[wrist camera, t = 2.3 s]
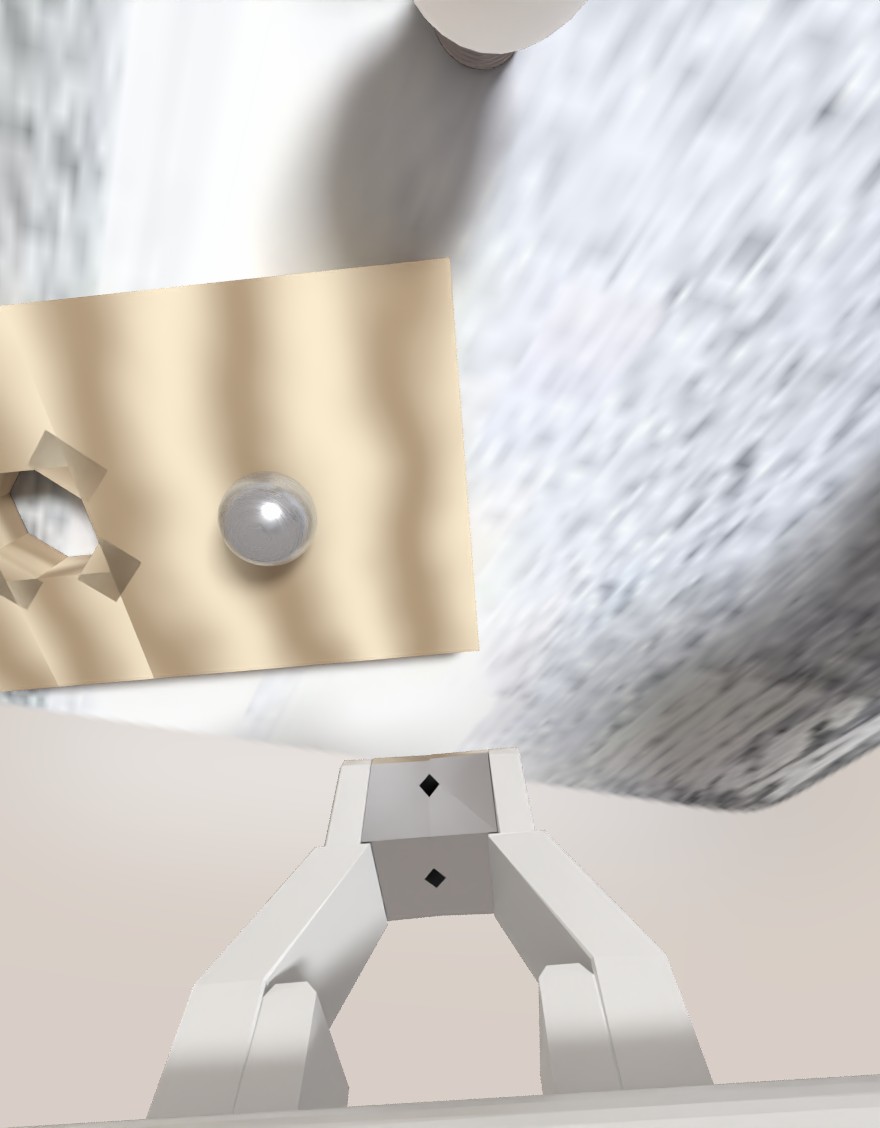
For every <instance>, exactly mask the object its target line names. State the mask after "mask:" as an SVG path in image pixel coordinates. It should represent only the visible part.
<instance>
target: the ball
mask: <svg viewBox="0 0 880 1128" xmlns="http://www.w3.org/2000/svg"><path fill="white" fill-rule="evenodd" d="M218 526H219V530H220V533H221V536H222V538H223V540H224V542H225V543H226V545H227V546H228V547H229V549H230V550H231V551H232V552H233V553H234V554H236V555H237V556H238V557H240V558H241V559H243V560H245V561H247V562H249V563H252V564H255V565H260V566H278V565H282V564H286V563H288V562H291V561H293V560H294V559H296V558H298V557H299V556H300V555H301V554H303V553H304V552H305V551H306V549H307V548H308V547H309V545H310V544H311V542H312V540H313V538H314V536H315V533H316V529H317V510H316V507H315V504H314V501H313V499H312V497H311V496H310V494H309V493H308V491H307V490H306V489H305V488H304V487H303V486H302V485H301V484H300V483H299V482H298V481H296V480H295V479H293V478H292V477H290V476H288V475H285V474H282V473H278V472H273V471H260V472H254V473H251V474H247V475H245V476H243V477H241V478H240V479H238V480H237V481H235V482H234V483H233V484H232V485H231V486H230V487H229V488H228V489H227V491H226V492H225V494H224V495H223V497H222V499H221V502H220V505H219V509H218Z"/></svg>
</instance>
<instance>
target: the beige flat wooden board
mask: <svg viewBox="0 0 880 1128" xmlns="http://www.w3.org/2000/svg"><path fill="white" fill-rule="evenodd" d="M27 470H36V471H38V472H39V473H41V474H42V475H44V476H45V477H47V478H49V479H50V480H52V481H53V482H55V483H57V484H58V485H60V486H61V487H63V488H65V489H66V490H68V491H69V492H71V493H72V494H74V495H76V496H77V497H79V498H80V499H82V502H83V504H84V507H85V509H86V512H87V514H88V517H89V519H90V521H91V524H92V526H93V529H94V531H95V534H96V536H97V539H98V541H99V544H98V546H97V548H96V549H95V551H94V553H93V554H92V555H83V556H73V557H68V556H66V555H64V554H62V553H61V552H59V551H57V550H56V549H54V548H52V547H51V546H49V545H47V544H46V543H44V542H42V541H41V540H39V539H37V538H36V537H34V536H32V535H30V534H29V533H28V532H27V530H26V528H25V526H24V523H23V521H22V519H21V517H20V515H19V513H18V510H17V508H16V506H15V504H14V502H13V500H12V498H11V495H10V493H9V492H10V490H11V488H12V486H13V484H14V482H15V480H16V478H17V476H18V474H19V472H20V471H27ZM260 471H273V472H278V473H282V474H285V475H288V476H290V477H292V478H293V479H295V480H296V481H298V482H299V483H300V484H301V485H302V486H303V487H304V488H305V489H306V490H307V491H308V493H309V494H310V496H311V497H312V499H313V501H314V504H315V507H316V510H317V529H316V533H315V536H314V538H313V540H312V542H311V544H310V545H309V547H308V548H307V549H306V551H305V552H304V553H303V554H301V555H300V556H299V557H298V558H296V559H294V560H293V561H291V562H288V563H286V564H282V565H278V566H260V565H255V564H252V563H249V562H247V561H245V560H243V559H241V558H240V557H238V556H237V555H236V554H234V553H233V552H232V551H231V550H230V549H229V547H228V546H227V545H226V543H225V542H224V540H223V538H222V536H221V533H220V530H219V526H218V509H219V505H220V502H221V499H222V497H223V495H224V494H225V492H226V491H227V489H228V488H229V487H230V486H231V485H232V484H233V483H234V482H235V481H237V480H238V479H240V478H241V477H243V476H245V475H247V474H251V473H254V472H260ZM470 651H479V640H478V626H477V613H476V600H475V587H474V573H473V560H472V547H471V534H470V520H469V507H468V494H467V481H466V467H465V454H464V441H463V428H462V414H461V401H460V388H459V375H458V361H457V348H456V335H455V322H454V308H453V295H452V282H451V269H450V257H448V258H439V259H430V260H421V261H411V262H402V263H393V264H383V265H374V266H365V267H356V268H346V269H337V270H328V271H318V272H309V273H300V274H291V275H281V276H272V277H263V278H254V279H244V280H235V281H226V282H216V283H207V284H198V285H189V286H179V287H170V288H161V289H151V290H142V291H133V292H124V293H114V294H105V295H96V296H87V297H77V298H68V299H59V300H49V301H40V302H31V303H22V304H12V305H3V306H0V692H4V691H15V690H27V689H39V688H50V687H62V686H74V685H85V684H97V683H109V682H120V681H132V680H144V679H155V678H167V677H179V676H190V675H202V674H214V673H225V672H237V671H248V670H260V669H272V668H283V667H295V666H307V665H318V664H330V663H342V662H353V661H365V660H377V659H388V658H400V657H412V656H423V655H435V654H447V653H458V652H470Z"/></svg>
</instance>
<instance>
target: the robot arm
mask: <svg viewBox="0 0 880 1128" xmlns="http://www.w3.org/2000/svg"><path fill="white" fill-rule="evenodd" d="M491 913H494V915H495V917H496V919H497V921H498V922H499V924H500V925H501V927H502V928H503V930H504V931H505V933H506V934H507V936H508V938H509V939H510V941H511V942H512V944H513V945H514V947H515V948H516V950H517V951H518V953H519V954H520V956H521V957H522V959H523V960H524V962H525V963H526V965H527V967H528V968H529V970H530V971H531V973H532V974H533V976H534V977H535V979H536V980H537V982H538V983H539V1026H540V1076H541V1083H542V1091H543V1095H532V1096H516V1097H499V1098H484V1099H467V1100H450V1101H434V1102H417V1103H402V1104H386V1105H368V1106H352V1107H347V1103H348V1091H349V1086H348V1084H347V1080H346V1077H345V1075H344V1072H343V1069H342V1066H341V1063H340V1060H339V1057H338V1054H337V1051H336V1048H335V1045H334V1042H333V1039H332V1037H331V1034H330V1031H329V1028H330V1027H331V1025H332V1023H333V1021H334V1019H335V1018H336V1016H337V1014H338V1012H339V1011H340V1009H341V1007H342V1005H343V1003H344V1002H345V1000H346V998H347V996H348V995H349V993H350V991H351V989H352V988H353V986H354V984H355V982H356V980H357V979H358V976H359V975H360V973H361V972H362V970H363V968H364V966H365V964H366V963H367V961H368V959H369V957H370V955H371V954H372V952H373V950H374V948H375V947H376V945H377V943H378V941H379V940H380V938H381V936H382V934H383V933H384V931H385V929H386V927H387V925H388V923H387V921H391V920H401V919H412V918H422V917H431V916H442V915H464V914H465V915H467V914H491ZM11 1128H880V1074H877V1075H861V1076H844V1077H827V1078H811V1079H795V1080H778V1081H762V1082H745V1083H729V1084H713V1081H712V1079H711V1075H710V1073H709V1070H708V1067H707V1065H706V1062H705V1059H704V1056H703V1053H702V1051H701V1048H700V1046H699V1042H698V1040H697V1037H696V1034H695V1031H694V1029H693V1026H692V1023H691V1020H690V1018H689V1015H688V1012H687V1009H686V1007H685V1004H684V1001H683V999H682V996H681V993H680V991H679V988H678V985H677V982H676V979H675V977H674V974H673V971H672V968H671V966H670V963H669V960H668V957H667V955H666V954H665V953H664V952H663V951H662V950H661V949H660V948H659V947H658V945H656V943H655V942H654V941H653V940H651V938H650V937H649V936H648V935H647V934H646V933H645V932H644V931H643V930H642V929H641V928H640V927H639V926H638V925H637V924H636V923H635V922H634V921H633V920H632V919H631V918H630V917H629V916H628V915H627V914H626V913H625V912H624V911H623V910H622V909H621V908H620V907H619V906H618V905H617V904H616V903H615V902H614V901H613V900H612V899H611V898H610V896H608V894H606V892H605V891H604V890H602V888H601V887H600V886H599V885H598V884H597V883H596V882H595V881H594V880H593V879H592V878H591V877H590V876H589V875H588V874H587V873H586V872H585V871H584V870H583V869H582V868H581V867H580V866H579V865H578V864H577V863H576V862H575V861H574V860H573V859H572V858H571V857H570V856H569V855H568V854H567V853H566V852H565V851H564V850H563V849H562V848H561V847H560V846H559V844H557V842H556V841H555V840H554V839H553V838H552V837H551V836H550V835H549V834H548V833H547V832H546V831H545V830H538V831H537V830H536V831H535V828H534V823H533V818H532V813H531V808H530V803H529V798H528V793H527V788H526V783H525V778H524V772H523V767H522V762H521V757H520V752H519V750H518V749H517V747H511V748H500V749H489V750H488V752H487V750H478V751H467V752H456V753H445V754H433V755H426V756H408V757H389V758H374V759H364V760H344V762H343V764H342V766H341V768H340V771H339V776H338V781H337V786H336V791H335V796H334V801H333V806H332V811H331V816H330V821H329V826H328V830H327V836H326V840H325V846H323V847H316V848H314V849H313V850H312V851H311V853H310V854H309V855H308V856H307V857H306V858H305V859H304V861H303V862H302V863H301V864H300V865H299V866H298V868H297V869H296V870H295V871H294V872H293V873H292V874H291V875H290V876H289V878H288V879H287V880H286V881H285V882H284V883H283V885H282V886H281V887H280V888H279V889H278V890H277V891H276V892H275V894H274V895H273V896H272V897H271V898H270V899H269V900H268V902H267V903H266V904H265V905H264V906H263V907H262V908H261V910H260V911H259V912H258V913H257V914H256V915H255V916H254V917H253V919H252V920H251V921H250V922H249V923H248V924H247V925H246V927H245V928H244V929H243V930H242V931H241V932H240V934H239V935H238V936H237V937H236V938H235V939H234V940H233V942H231V944H230V945H229V946H228V947H227V948H226V949H225V950H224V952H223V953H222V954H221V955H220V956H219V957H218V958H217V960H216V961H215V962H214V963H213V964H212V965H211V967H210V968H209V969H208V970H207V971H206V972H205V973H204V974H203V976H202V977H201V978H200V979H199V980H198V981H197V982H196V983H195V985H194V986H193V989H192V991H191V995H190V997H189V1000H188V1003H187V1006H186V1008H185V1012H184V1014H183V1017H182V1020H181V1022H180V1025H179V1029H178V1031H177V1034H176V1037H175V1039H174V1042H173V1045H172V1048H171V1050H170V1053H169V1056H168V1059H167V1062H166V1064H165V1067H164V1070H163V1073H162V1076H161V1078H160V1081H159V1084H158V1087H157V1090H156V1092H155V1095H154V1098H153V1101H152V1104H151V1106H150V1109H149V1112H148V1115H147V1118H146V1119H140V1120H124V1121H108V1122H91V1123H76V1124H59V1125H45V1126H28V1127H11Z"/></svg>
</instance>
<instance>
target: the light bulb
mask: <svg viewBox="0 0 880 1128" xmlns="http://www.w3.org/2000/svg"><path fill="white" fill-rule="evenodd" d="M587 1H588V0H413V2H414V3H415V5H416V6H417V7H418V9H419V10H420V12H421V13H422V15H423V16H424V18H425V19H426V20H427V21H428V22H429V23H430V24H432V25H433V27H434V30H435V32H436V34H437V36H438V38H439V40H440V42H441V44H442V45H443V47H444V48H445V49H446V50H447V51H448V53H449V54H450V55H451V56H452V57H453V58H454V59H456V60H457V61H458V62H460V63H461V64H463V65H465V66H468V67H471V68H475V69H484V70H486V69H491V68H495V67H497V66H499V65H501V64H503V63H504V62H506V61H507V60H508V59H509V58H510V57H511V56H512V55H513V54H514V52H515V51H519V50H523V49H525V48H527V47H529V46H531V45H533V44H536V43H538V42H540V41H542V40H544V39H545V38H547V37H548V36H550V35H551V34H552V33H554V32H555V31H556V30H558V29H559V28H560V27H562V26H563V25H564V24H565V23H567V22H568V21H569V20H571V19H572V17H573V16H574V15H575V14H576V13H577V12H578V11H579V10H580V8H581V7H582V6H583V5H584V4H585V3H586V2H587Z"/></svg>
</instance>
